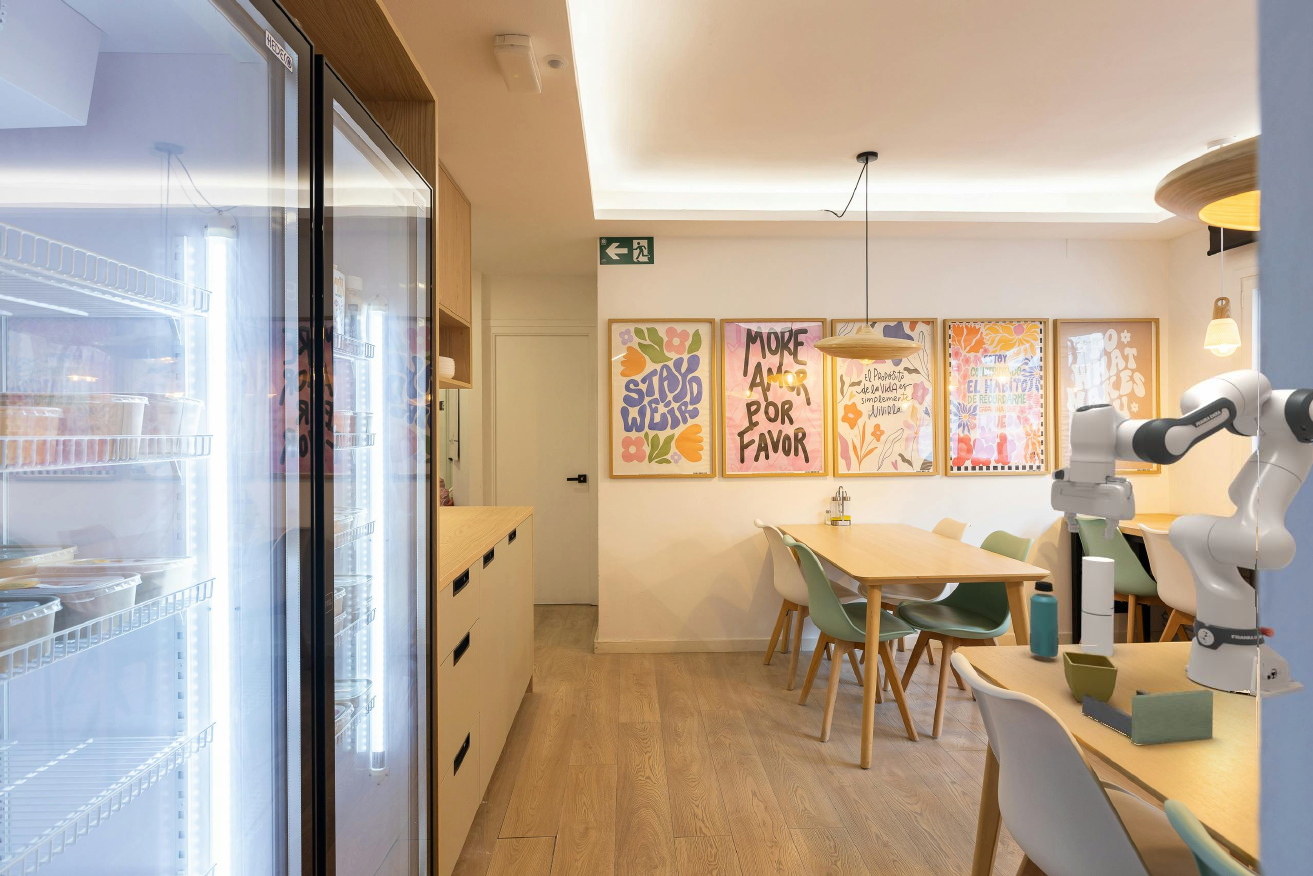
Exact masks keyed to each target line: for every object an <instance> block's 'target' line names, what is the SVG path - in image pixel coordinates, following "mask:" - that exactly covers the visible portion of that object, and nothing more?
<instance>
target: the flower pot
mask: <svg viewBox="0 0 1313 876" xmlns="http://www.w3.org/2000/svg"><path fill="white" fill-rule="evenodd" d="M1062 660H1063V661H1062V662H1063V670H1064V671H1063V672H1064V677H1065V680H1066V682H1067V685H1068V687H1069V689H1070V691H1071V693H1072V695H1073V696H1074V698H1075V700H1076V701H1077V702H1079V703H1082V695H1085V694H1088V695H1090V696H1092V697H1094V698H1096V699H1098V700H1100V701H1103V702H1105V703H1107V704H1108V702H1109V700H1110V699H1111V698H1112V696H1113V694H1114V692H1115V686H1116V684H1117V683H1116V682H1117V676H1118V671H1119V670H1118V666H1116V665H1115V664H1114V663H1113V661H1112V660H1111V658H1110V657H1107V656H1104V655H1096V654H1086V653H1084V652H1083V653H1082V652H1076V651H1066V650H1065V651H1062Z"/></svg>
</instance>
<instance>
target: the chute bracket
mask: <svg viewBox="0 0 1313 876" xmlns="http://www.w3.org/2000/svg"><path fill="white" fill-rule="evenodd" d="M1135 693H1136V694H1135V695H1132V696H1131V714H1129V713H1128V712H1126V711H1124V710H1121V709H1119V708H1117V707H1115V706H1113V705H1110V704H1109V703H1108V702H1107V703H1105V702H1103V701H1100V700H1098V699H1096V698H1094V697H1092V696H1090V695H1088V694H1085V695H1082V702H1081V703H1082V704H1081V705H1082V706H1081V707H1082V708H1081V709H1082V710H1081V711H1082V712H1081V713H1084V714H1086V715H1088V716H1090V717H1092V718H1093V719H1096V720H1098V721H1100V722H1102V723H1104V724H1106V725H1108V726H1110V727H1112V728H1114V729H1116V730H1118V731H1120V732H1122V733H1124V734H1126V735H1127V736H1129V737H1130V738H1132V739H1131V743H1132V742H1133V743H1136V744H1151V745H1158V744H1159V745H1160V744H1169V743H1181V742H1190V741H1200V740H1211V739H1213V733H1214V732H1213V729H1214V728H1213V724H1214V722H1213V720H1214V717H1213V715H1214V691H1211V690H1209V689H1199V690H1197V689H1196V690H1188V691H1187V690H1185V691H1174V692H1172V691H1171V692H1163V693H1162V692H1161V693H1160V692H1159V693H1149V692H1147V691H1144V690H1142V689H1139V690H1136V692H1135ZM1084 714H1083V715H1084ZM1086 715H1085V716H1086ZM1088 716H1087V717H1088ZM1090 717H1089V718H1090ZM1092 718H1091V719H1092ZM1093 719H1092V720H1093ZM1130 738H1129V739H1130ZM1133 743H1132V744H1133Z"/></svg>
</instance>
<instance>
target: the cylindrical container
mask: <svg viewBox="0 0 1313 876" xmlns="http://www.w3.org/2000/svg"><path fill="white" fill-rule="evenodd" d="M1081 558H1082V559H1081V560H1082V561H1081V564H1082V565H1081V566H1082V567H1081V571H1082V572H1081V573H1082V574H1081V629H1080V630H1081V634H1080V635H1081V637H1080V639H1081V640H1080V641H1081V642H1080V643H1081V645H1097V646H1081V647H1080V650H1081V653H1082V652H1083V653H1086V654H1096V655H1104V656H1107V657H1108V656H1111V657H1113V656H1114V625H1115V624H1114V619H1115V616H1114V615H1115V608H1114V607H1115V559H1112V558H1108V557H1104V556H1103V557H1102V556H1082V557H1081ZM1112 655H1113V656H1112ZM1108 658H1109V657H1108Z"/></svg>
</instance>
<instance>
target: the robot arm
mask: <svg viewBox="0 0 1313 876" xmlns="http://www.w3.org/2000/svg"><path fill="white" fill-rule="evenodd" d="M1258 372H1259V436H1257V430H1258ZM1179 409H1180V412H1181V414H1182V416H1180V417H1179V418H1176V417H1175V418H1174V417H1173V418H1172V417H1164V418H1163V417H1162V418H1149V419H1145V418H1143V419H1131V418H1130V417H1128V416H1125V415H1123V414H1121V413H1120V412H1118V411H1117V410H1116V409H1115V406H1114V405H1113V404H1110V403H1097V404H1088V405H1083V406H1080V407H1079V408H1077V409H1076V410H1075V411H1074V412H1073V416H1072V419H1071V426H1070V438H1069V439H1070V441H1069V444H1070V447H1071V455H1070V457H1069V465H1067V466H1064V467H1062V468H1058V469H1055V470H1053V471H1052V472H1051V479H1052V480H1054V481H1053V483H1052V484H1051V487H1050V488H1051V490H1050V491H1051V492H1050V505H1051V508H1052V509H1053V510H1054V511H1057V512H1059V511H1060V512H1064V513H1063V514H1064V515H1063V516H1064V518H1065V521H1066V523H1067V530H1068V532H1070V533H1080V526H1081V525H1080V524H1078V523H1077V520H1076V517H1077V514H1078V515H1085V516H1089V517H1090V516H1091V517H1095V518H1097V517H1098V518H1104V519H1105V524H1107V525H1106V527H1105V528H1104V529H1101V535H1100V536H1101V538H1103V539H1107V540H1113V539H1114V536H1115V535H1114V534H1115V530H1117V528H1118V526H1119V524H1120V521H1132V520H1133V519H1134V518H1135V517H1136V502H1135V495H1134V491H1133V484H1132V483H1131V482H1130V481H1129V479H1127V478H1126V477H1123V476H1122V477H1118V476H1116V461H1119V462H1120V461H1122V462H1132V463H1133V462H1135V463H1147V464H1148V463H1150V464H1154V465H1163V466H1168V465H1172V464H1175V463H1178V462H1179V461H1180V460H1182V458H1184V457H1185V455H1186V454H1187V453H1188V452H1189V451H1190V450H1191V449H1192V448H1194V446H1196V445H1197V444H1198V443H1200V442H1202V441H1204V440H1206V439H1207V438H1209V437H1211V436H1213V435H1214V434H1216V433H1218V432H1219V431H1221V430H1223V429H1225V430H1226V431H1228V432H1229V433H1230V434H1232V435H1236V436H1240V437H1248V438H1250V437H1259V443H1258V447H1257V448H1258V450H1259V504H1258V555H1257V570H1260V571H1270V570H1271V571H1273V570H1274V571H1279V570H1282V569H1284V568H1286V567H1287V566H1289V564H1291V563H1292V561H1293V560H1294V559H1295V556H1296V551H1297V545H1296V542H1295V539H1294V537H1293V535H1292V534H1291V532H1289V530H1288V529H1287V528H1286V525H1285V515H1286V513H1287V511H1288V508H1289V506H1290V504H1291V503H1292V502H1293V500H1294V499H1295V496H1296V495H1297V493H1298V492H1299V490H1300V489H1301V487H1302V485H1303V484H1304V483H1305V481H1306V479H1307V477H1308V475H1309V473H1310V471H1311V469H1312V466H1313V444H1312V443H1313V388H1299V389H1289V388H1288V389H1272V385H1271V382H1270V380H1269V379H1268V377H1267V376H1266V375H1265V374H1263V373H1262V372H1260V371H1258V370H1256V369H1248V368H1245V369H1238V370H1233V371H1228V372H1225V373H1221V374H1218V375H1215V376H1212V377H1209V378H1208V379H1205V380H1203V381H1200V382H1198V383H1196V384H1194V385H1192V386H1191V387H1190V388H1188V389H1187V390H1186V391H1184V392H1183V393H1182V395H1181V397H1180V403H1179ZM1257 483H1258V455H1257V449H1255V451H1254V452H1253V453H1252V454H1251V455H1250V456H1249V458H1248V459H1247V460H1246V461H1245V463H1244V464H1243V466H1242V467H1241V469H1240V471H1239V472H1238V473H1237V474H1236V476H1235V478H1234V479H1233V481H1232V482H1231V483H1230V485H1229V486H1228V489H1227V493H1228V497H1229V500H1230V501H1231V502H1232V504H1233V505H1234V506H1235V507H1237V508H1236V511H1234V514H1233V515H1231V516H1223V515H1213V514H1208V513H1206V514H1205V513H1197V514H1196V513H1195V514H1194V513H1193V514H1185V515H1180V516H1177V517H1176V518H1175V519H1173V521H1172V523H1171V524H1170V526H1169V528H1168V539H1169V540H1168V541H1169V542H1170V544H1171V546H1172V547H1173V549H1175V550H1176V551H1177V552H1178V553H1179V554H1180V556H1181V557H1182V558H1183V559H1184V561H1185V563H1186V565H1187V567H1188V568H1189V571H1190V573H1191V575H1192V578H1193V581H1194V586H1195V599H1196V601H1195V602H1196V617H1194V619H1193V620H1194V621H1193V624H1192V625H1193V633H1194V635H1195V636H1194V637H1193V638H1192V640H1191V646H1190V652H1189V654H1190V655H1189V661H1188V663H1187V664H1185V668H1184V669H1185V670H1186V671H1187V673H1186V676H1187V677H1188V679H1190V680H1191V681H1193V682H1195V683H1198V684H1200V685H1202V686H1206V687H1209V688H1213V689H1216V690H1221V691H1225V692H1230V691H1244V690H1246V691H1248V690H1249V691H1250V696H1254V697H1258V696H1257V664H1258V650H1257V628H1256V607H1255V591H1256V589H1255V588H1253V586H1251V585H1250V583H1248V582H1247V581H1246V580H1244V578H1243V577H1242V576H1241V573H1240V571H1239V569H1238V567H1239V568H1245V569H1250V570H1253V571H1254V570H1255V564H1256V527H1257ZM1257 570H1255V571H1257ZM1257 613H1258V614H1259V596H1258V594H1257ZM1258 634H1259V649H1260V697H1259V698H1265V699H1270V698H1274V697H1275V698H1276V697H1280V696H1283V695H1288V694H1291V693H1296V692H1300V691H1304V690H1305V686H1304V685H1303V684H1302V683H1301V682H1299V681H1297V680H1295V679H1292V678H1291V674H1290V665H1289V662H1288V661H1287V660H1286V658H1284V657H1283V656H1281V655H1280V654H1279V653H1278V652H1277V651H1275V650H1274V649H1272V648H1271V647H1270V646H1269V645H1267V643H1266V641H1265V639H1264V636H1265V637H1268V638H1272V637H1273V636H1274V634H1275V632H1274V630H1273V628H1270V627H1265V626H1261V627H1260V626H1258ZM1263 663H1264V668H1263Z"/></svg>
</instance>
